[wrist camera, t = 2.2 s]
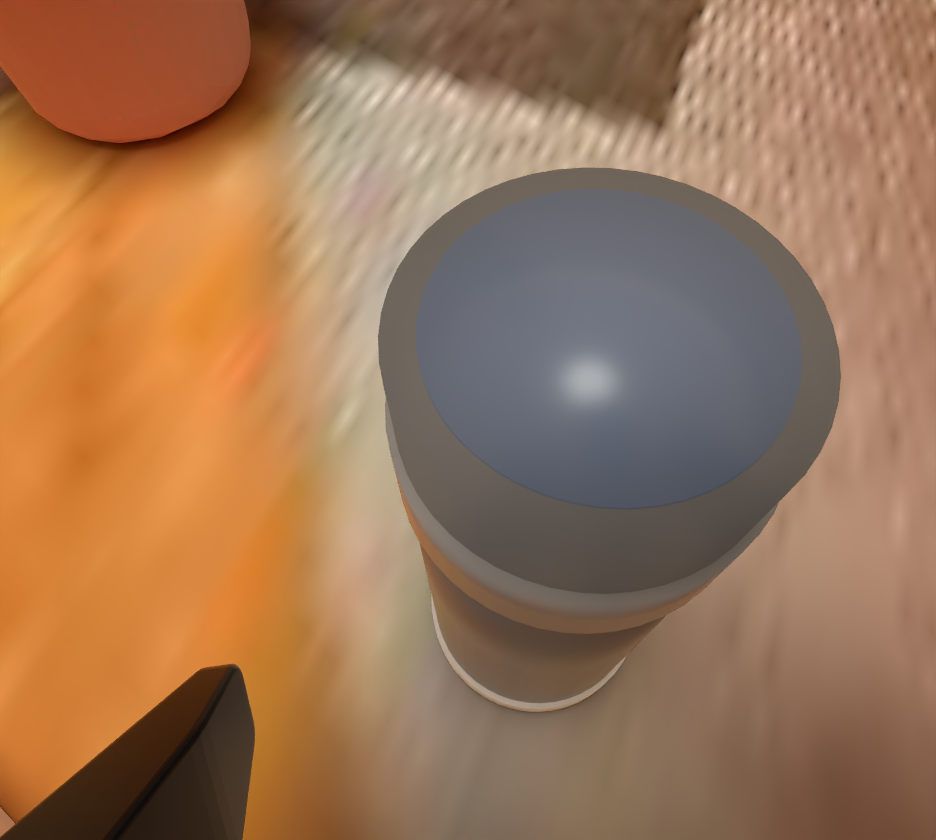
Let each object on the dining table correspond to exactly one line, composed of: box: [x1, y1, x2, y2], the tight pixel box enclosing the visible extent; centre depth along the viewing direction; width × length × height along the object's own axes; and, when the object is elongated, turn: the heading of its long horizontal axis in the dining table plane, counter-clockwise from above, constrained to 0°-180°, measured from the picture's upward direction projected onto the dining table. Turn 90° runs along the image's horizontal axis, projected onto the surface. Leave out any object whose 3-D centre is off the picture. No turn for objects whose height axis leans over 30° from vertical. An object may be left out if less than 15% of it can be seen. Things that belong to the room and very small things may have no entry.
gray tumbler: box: [378, 168, 841, 712], centre depth 13 cm, size 5×5×12 cm
